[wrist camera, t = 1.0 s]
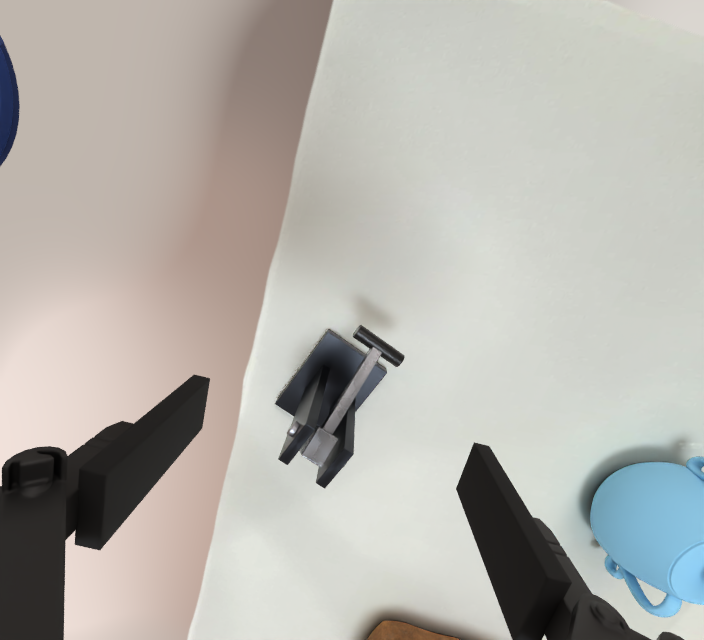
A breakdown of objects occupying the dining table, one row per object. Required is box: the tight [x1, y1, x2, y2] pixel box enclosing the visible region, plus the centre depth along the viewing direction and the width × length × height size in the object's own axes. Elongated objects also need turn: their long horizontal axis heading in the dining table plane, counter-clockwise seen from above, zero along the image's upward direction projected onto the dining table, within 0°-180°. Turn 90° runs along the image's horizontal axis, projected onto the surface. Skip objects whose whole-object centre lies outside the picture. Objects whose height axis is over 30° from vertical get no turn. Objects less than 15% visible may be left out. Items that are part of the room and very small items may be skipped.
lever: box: [299, 325, 404, 467], centre depth 32 cm, size 13×6×2 cm, turn 144°
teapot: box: [590, 456, 704, 617], centre depth 40 cm, size 20×20×13 cm
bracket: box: [275, 329, 387, 488], centre depth 36 cm, size 12×9×15 cm
